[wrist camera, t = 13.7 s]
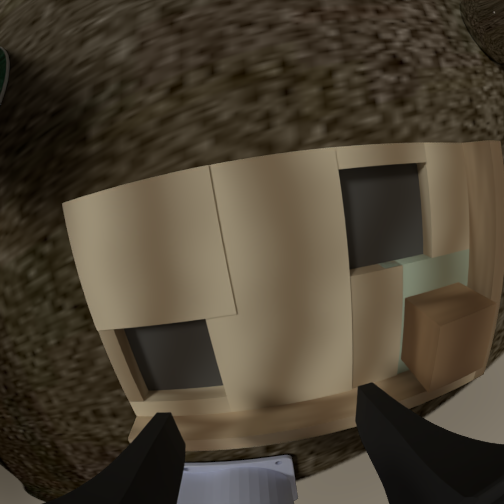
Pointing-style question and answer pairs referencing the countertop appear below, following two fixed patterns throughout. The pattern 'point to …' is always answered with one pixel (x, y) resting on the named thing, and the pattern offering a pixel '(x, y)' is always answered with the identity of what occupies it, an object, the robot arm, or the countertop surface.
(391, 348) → the wooden flat frame
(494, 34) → the beer glass
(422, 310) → the block
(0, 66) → the canned tomato
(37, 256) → the countertop surface
